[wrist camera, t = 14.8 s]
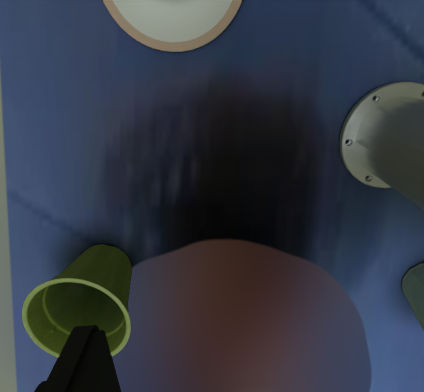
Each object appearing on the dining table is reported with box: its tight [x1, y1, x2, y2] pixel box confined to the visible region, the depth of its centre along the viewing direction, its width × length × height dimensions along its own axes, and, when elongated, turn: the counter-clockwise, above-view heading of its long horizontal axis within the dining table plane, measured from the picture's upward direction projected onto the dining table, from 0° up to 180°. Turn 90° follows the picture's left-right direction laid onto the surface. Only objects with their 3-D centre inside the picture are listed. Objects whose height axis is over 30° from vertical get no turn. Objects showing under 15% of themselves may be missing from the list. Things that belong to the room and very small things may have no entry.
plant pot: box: [22, 244, 132, 358], centre depth 42 cm, size 12×12×11 cm
